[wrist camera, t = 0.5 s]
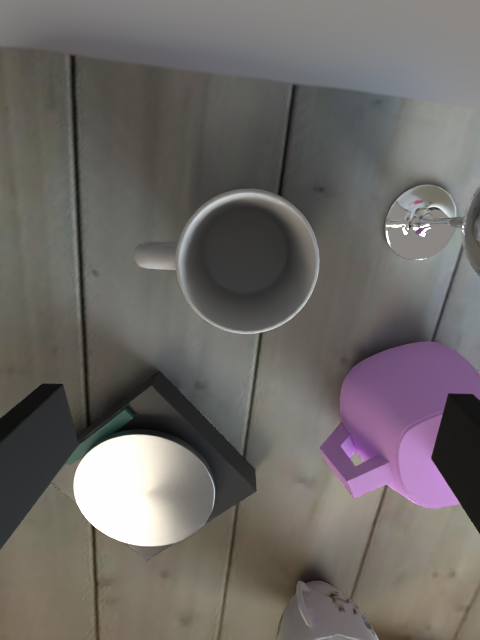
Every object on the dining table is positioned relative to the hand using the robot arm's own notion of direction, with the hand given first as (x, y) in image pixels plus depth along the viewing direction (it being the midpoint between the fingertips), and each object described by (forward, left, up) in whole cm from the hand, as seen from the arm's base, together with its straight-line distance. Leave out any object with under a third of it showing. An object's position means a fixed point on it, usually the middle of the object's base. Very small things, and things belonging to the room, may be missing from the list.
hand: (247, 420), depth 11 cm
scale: (+9, -19, -20) cm, 29 cm away
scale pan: (+9, -19, -16) cm, 27 cm away
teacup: (+37, -17, -20) cm, 45 cm away
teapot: (+19, +7, -20) cm, 28 cm away
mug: (-4, +2, -20) cm, 20 cm away
